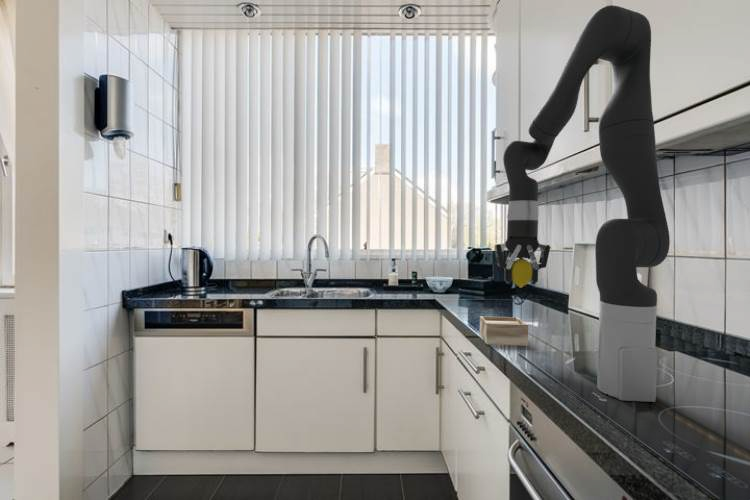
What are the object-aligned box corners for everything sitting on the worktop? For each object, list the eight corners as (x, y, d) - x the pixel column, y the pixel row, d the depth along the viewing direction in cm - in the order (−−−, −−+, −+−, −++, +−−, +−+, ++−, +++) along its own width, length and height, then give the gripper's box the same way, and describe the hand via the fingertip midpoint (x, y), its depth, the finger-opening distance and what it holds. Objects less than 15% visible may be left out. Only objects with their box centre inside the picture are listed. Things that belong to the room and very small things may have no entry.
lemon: (505, 286, 107) (505, 256, 107) (521, 286, 109) (522, 256, 109) (519, 289, 102) (520, 258, 101) (536, 288, 104) (537, 257, 103)
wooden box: (527, 346, 111) (528, 325, 111) (486, 345, 112) (487, 323, 112) (516, 337, 122) (517, 317, 122) (479, 335, 123) (479, 316, 123)
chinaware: (421, 290, 230) (421, 276, 230) (444, 289, 235) (445, 276, 235) (432, 293, 216) (433, 279, 216) (457, 293, 221) (457, 279, 220)
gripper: (497, 218, 102) (495, 284, 102) (556, 218, 100) (554, 286, 101) (491, 219, 109) (489, 281, 110) (546, 220, 108) (544, 283, 108)
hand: (520, 283), depth 105 cm, fingers closed on lemon, 5 cm apart
